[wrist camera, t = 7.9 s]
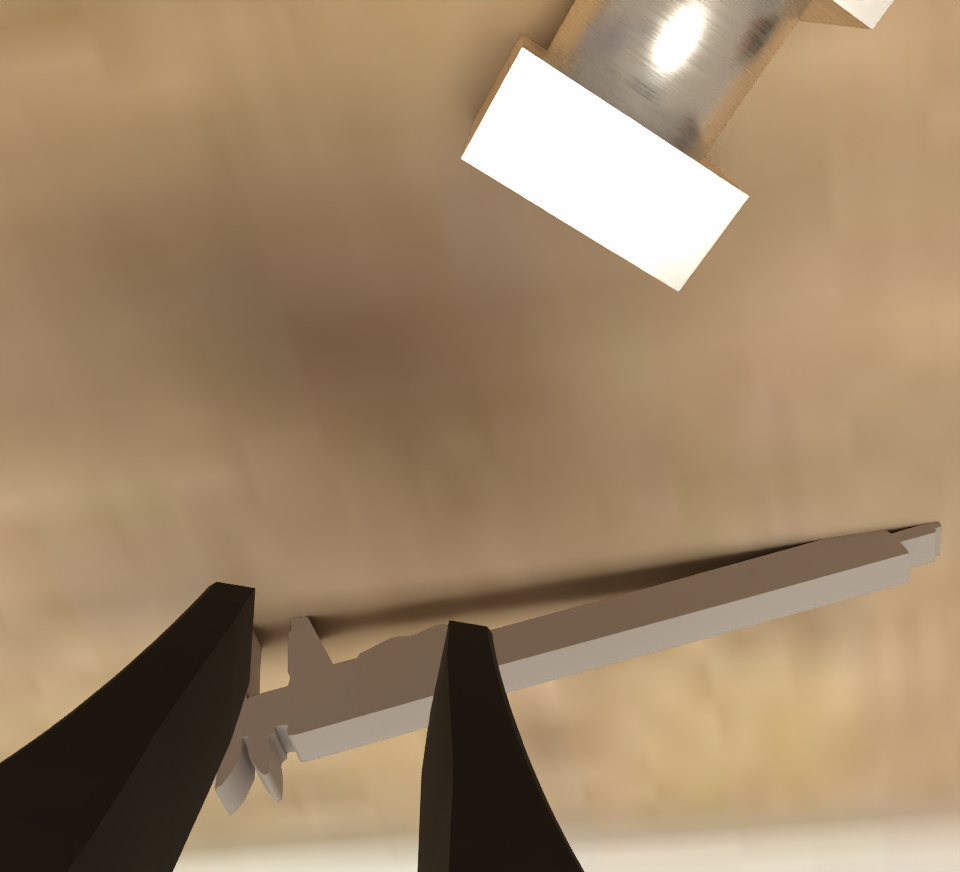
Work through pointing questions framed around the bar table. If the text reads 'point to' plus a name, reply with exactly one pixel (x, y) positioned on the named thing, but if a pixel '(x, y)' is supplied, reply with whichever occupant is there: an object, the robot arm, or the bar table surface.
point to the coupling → (638, 117)
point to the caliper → (541, 649)
